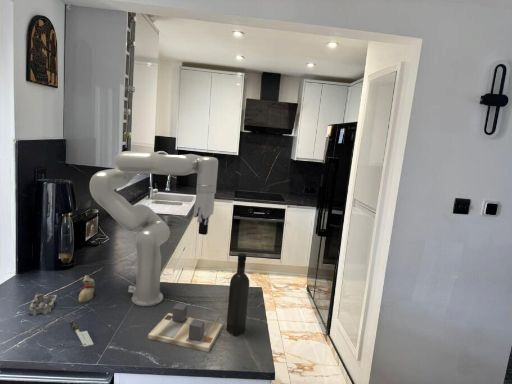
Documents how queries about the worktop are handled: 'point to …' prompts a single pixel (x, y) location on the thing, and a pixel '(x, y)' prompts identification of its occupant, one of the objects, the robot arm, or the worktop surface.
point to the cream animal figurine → (87, 290)
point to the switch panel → (185, 333)
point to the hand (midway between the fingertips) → (202, 233)
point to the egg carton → (42, 304)
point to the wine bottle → (238, 299)
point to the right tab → (196, 329)
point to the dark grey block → (179, 312)
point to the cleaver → (82, 335)
